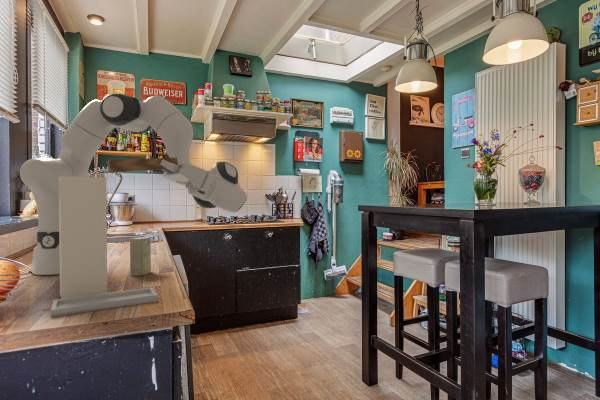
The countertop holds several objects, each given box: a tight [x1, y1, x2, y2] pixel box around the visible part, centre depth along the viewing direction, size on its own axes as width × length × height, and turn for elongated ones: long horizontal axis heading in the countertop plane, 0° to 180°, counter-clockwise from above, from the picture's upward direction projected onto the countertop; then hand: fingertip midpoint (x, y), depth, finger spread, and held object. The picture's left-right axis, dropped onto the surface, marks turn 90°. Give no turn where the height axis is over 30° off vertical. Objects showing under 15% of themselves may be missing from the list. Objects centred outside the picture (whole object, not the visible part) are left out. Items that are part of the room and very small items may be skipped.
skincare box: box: [129, 236, 152, 277], centre depth 118 cm, size 6×4×12 cm
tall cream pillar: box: [59, 176, 108, 299], centre depth 93 cm, size 10×9×31 cm
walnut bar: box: [107, 157, 178, 174], centre depth 100 cm, size 18×3×3 cm, turn 126°
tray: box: [50, 286, 159, 318], centre depth 85 cm, size 22×9×2 cm, turn 122°
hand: (158, 162), depth 103 cm, fingers closed on walnut bar, 3 cm apart
